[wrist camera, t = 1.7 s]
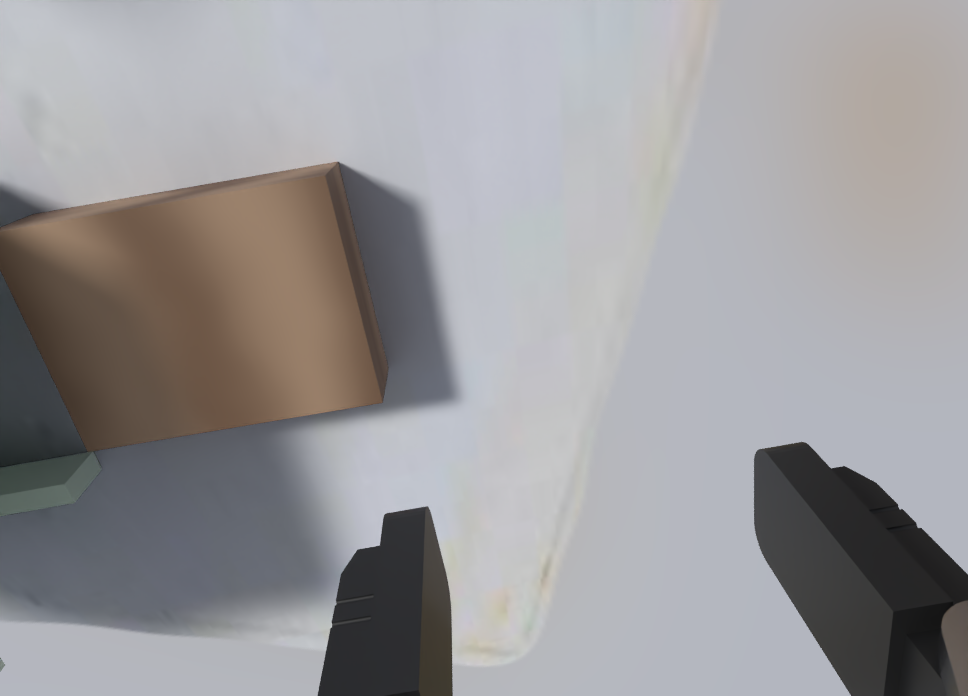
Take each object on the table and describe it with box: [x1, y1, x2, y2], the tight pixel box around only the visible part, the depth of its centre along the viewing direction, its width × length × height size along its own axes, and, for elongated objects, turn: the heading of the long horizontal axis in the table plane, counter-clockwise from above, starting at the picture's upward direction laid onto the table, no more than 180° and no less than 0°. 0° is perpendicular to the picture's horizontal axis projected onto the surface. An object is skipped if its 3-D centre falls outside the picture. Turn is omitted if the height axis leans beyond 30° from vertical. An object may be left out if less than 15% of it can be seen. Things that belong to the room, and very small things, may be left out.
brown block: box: [0, 162, 388, 452], centre depth 26 cm, size 12×9×4 cm
